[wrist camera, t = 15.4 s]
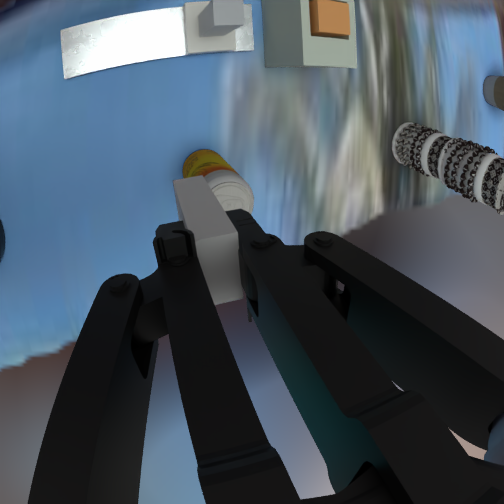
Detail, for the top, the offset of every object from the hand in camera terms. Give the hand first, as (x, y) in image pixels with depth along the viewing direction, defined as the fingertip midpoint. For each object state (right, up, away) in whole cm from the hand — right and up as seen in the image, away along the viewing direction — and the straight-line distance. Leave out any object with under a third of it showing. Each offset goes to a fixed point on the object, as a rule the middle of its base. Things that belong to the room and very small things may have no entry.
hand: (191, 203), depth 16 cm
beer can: (-4, +9, +29) cm, 31 cm away
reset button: (+10, +25, +15) cm, 31 cm away
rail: (-9, +25, +17) cm, 32 cm away
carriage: (-2, +26, +18) cm, 31 cm away
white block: (+8, +29, +22) cm, 37 cm away
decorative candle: (+32, +18, +38) cm, 53 cm away
